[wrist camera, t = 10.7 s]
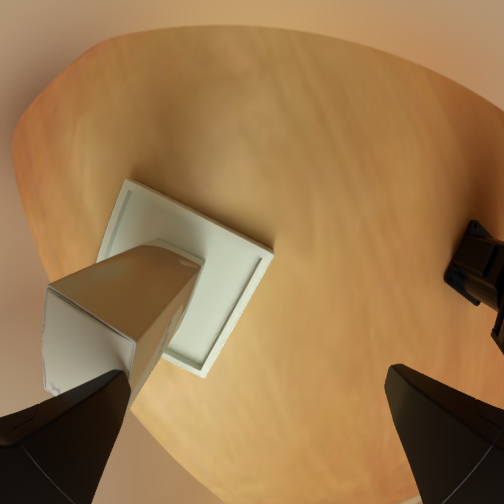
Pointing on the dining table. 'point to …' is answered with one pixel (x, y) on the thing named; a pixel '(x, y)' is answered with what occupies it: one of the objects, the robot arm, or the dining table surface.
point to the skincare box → (116, 315)
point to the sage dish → (212, 277)
